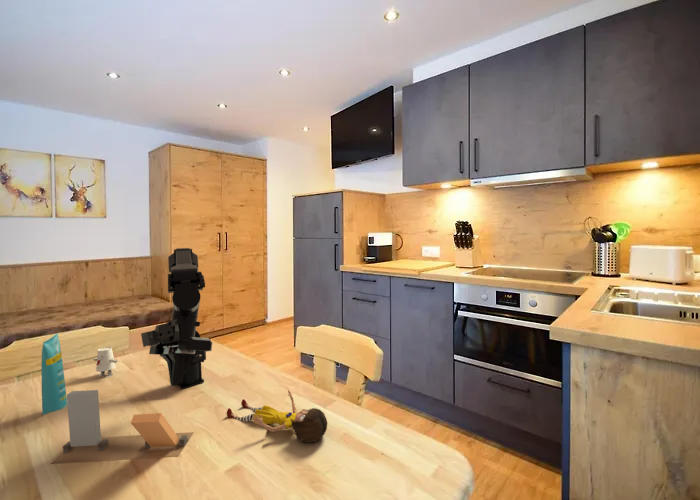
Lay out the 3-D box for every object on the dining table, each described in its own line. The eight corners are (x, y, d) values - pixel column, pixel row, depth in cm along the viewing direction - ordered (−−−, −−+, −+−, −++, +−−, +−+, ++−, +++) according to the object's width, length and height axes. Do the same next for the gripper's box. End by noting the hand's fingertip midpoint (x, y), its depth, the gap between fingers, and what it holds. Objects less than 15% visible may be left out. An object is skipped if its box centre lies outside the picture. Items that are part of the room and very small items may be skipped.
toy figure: (82, 377, 108) (80, 350, 107) (99, 370, 113) (97, 344, 113) (112, 381, 105) (110, 353, 104) (128, 373, 110) (127, 347, 110)
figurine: (253, 386, 90) (336, 392, 79) (257, 414, 90) (340, 425, 79) (213, 410, 78) (304, 422, 67) (217, 442, 78) (309, 460, 67)
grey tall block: (75, 442, 71) (72, 391, 70) (101, 440, 71) (97, 390, 70) (70, 446, 69) (66, 394, 69) (96, 445, 70) (92, 393, 69)
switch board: (80, 442, 74) (79, 432, 74) (194, 436, 76) (193, 426, 75) (50, 468, 66) (49, 456, 66) (178, 461, 68) (177, 449, 67)
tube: (62, 415, 85) (57, 339, 84) (37, 420, 83) (31, 342, 82) (71, 402, 92) (66, 331, 91) (48, 406, 90) (42, 334, 89)
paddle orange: (153, 439, 71) (133, 414, 64) (178, 437, 71) (161, 413, 64) (150, 446, 70) (130, 422, 63) (176, 445, 70) (158, 421, 63)
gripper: (133, 317, 83) (118, 386, 78) (169, 307, 73) (155, 386, 67) (178, 323, 92) (168, 385, 86) (217, 314, 81) (208, 385, 75)
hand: (173, 386), depth 78 cm, fingers closed
